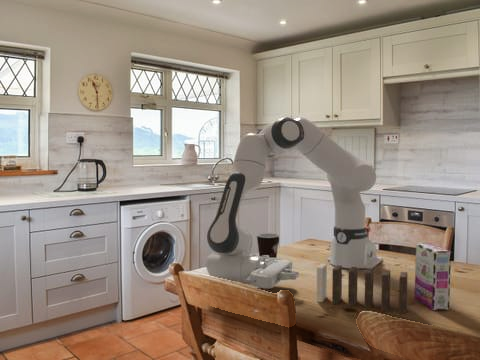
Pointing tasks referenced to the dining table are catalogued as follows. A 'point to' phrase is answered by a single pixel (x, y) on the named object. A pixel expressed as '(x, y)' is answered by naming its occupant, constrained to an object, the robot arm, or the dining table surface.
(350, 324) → the dining table surface
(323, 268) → the ivory domino
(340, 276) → the domino
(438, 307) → the candy bar box
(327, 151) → the robot arm
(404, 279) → the domino
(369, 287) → the domino
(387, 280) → the domino
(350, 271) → the domino
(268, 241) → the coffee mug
